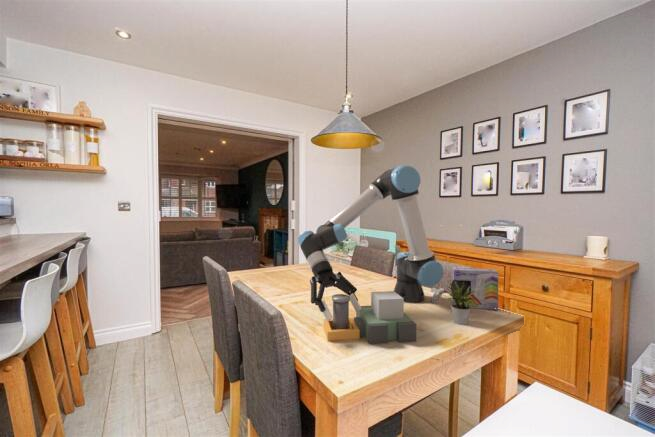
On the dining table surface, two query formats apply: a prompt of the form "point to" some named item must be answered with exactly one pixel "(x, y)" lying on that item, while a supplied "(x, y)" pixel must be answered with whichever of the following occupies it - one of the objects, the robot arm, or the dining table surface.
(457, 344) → the dining table surface
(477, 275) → the cake pan box
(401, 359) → the dining table surface
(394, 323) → the green corner-block plate
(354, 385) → the dining table surface
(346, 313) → the grey flared cylinder
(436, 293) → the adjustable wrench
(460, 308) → the house plant
